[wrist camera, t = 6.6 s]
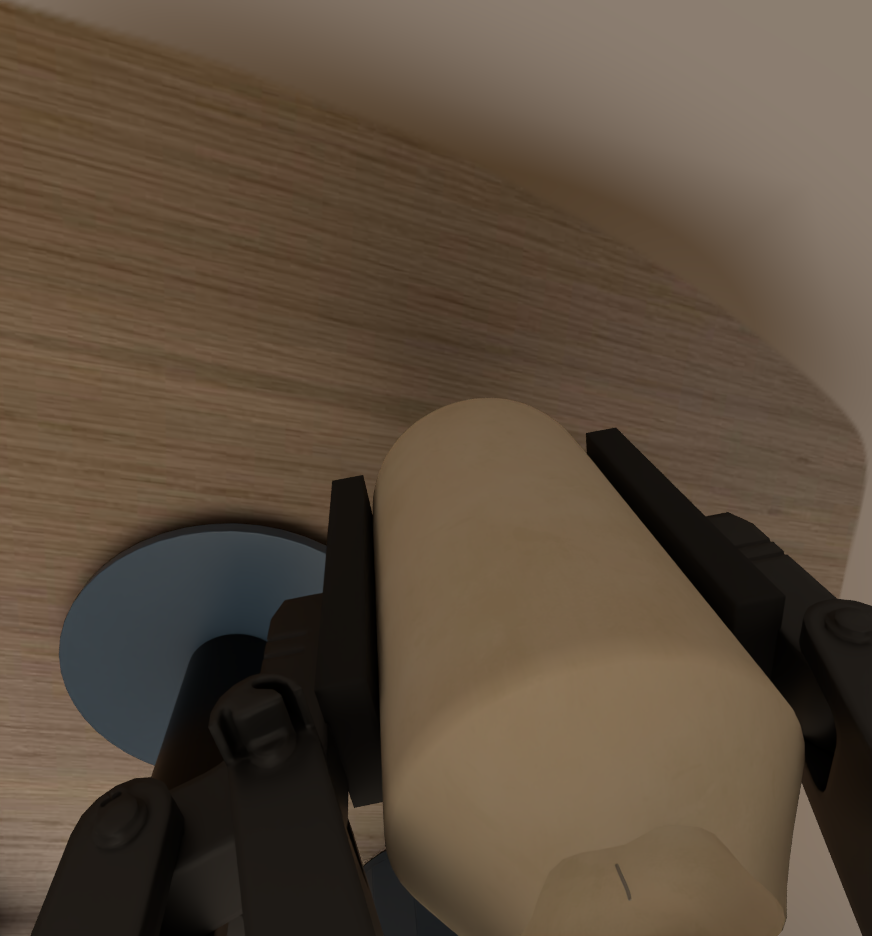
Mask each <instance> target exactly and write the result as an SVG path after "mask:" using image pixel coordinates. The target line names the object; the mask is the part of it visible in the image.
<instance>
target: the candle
mask: <svg viewBox="0 0 872 936" xmlns="http://www.w3.org/2000/svg"><path fill="white" fill-rule="evenodd" d="M373 544H374V572H375V599H376V627H377V654H378V682H379V709H380V736H381V764H382V790H383V816H384V836H385V845H386V852H387V855H388V858H389V861H390V864H391V867H392V869H393V871H394V873H395V874H396V876H397V878H398V879H399V881H400V883H401V884H402V885H403V886H404V887H405V888H406V889H407V890H408V892H409V893H410V894H411V895H412V896H413V897H414V898H415V899H416V900H417V901H419V902H420V903H421V904H422V905H423V906H424V907H425V908H426V909H428V910H429V911H430V912H431V913H432V914H433V915H435V916H436V917H437V918H438V919H439V920H440V921H442V922H443V923H444V924H445V925H446V926H447V927H449V928H450V929H451V930H452V931H453V932H455V933H456V934H457V935H458V936H778V935H779V934H780V933H781V931H782V930H783V927H784V924H785V922H786V918H787V881H788V870H789V860H790V852H791V845H792V836H793V830H794V823H795V817H796V811H797V806H798V799H799V794H800V788H801V782H802V776H803V770H804V764H805V742H804V738H803V733H802V729H801V725H800V723H799V721H798V719H797V717H796V715H795V713H794V710H793V709H792V708H791V706H790V705H789V704H788V702H787V701H786V700H785V698H784V697H783V696H782V695H781V693H780V692H779V691H778V690H777V688H776V687H775V686H774V685H773V683H772V682H771V681H770V680H769V678H768V677H767V676H766V675H765V673H764V672H763V671H762V670H761V668H760V667H759V666H758V665H757V663H756V662H755V661H754V660H753V658H752V657H751V656H750V655H749V654H748V652H747V651H746V650H745V649H744V647H743V646H742V645H741V644H740V642H739V641H738V640H737V639H736V637H735V636H734V635H733V634H732V633H731V631H730V630H729V629H728V628H727V626H726V625H725V624H724V623H723V621H722V620H721V619H720V618H719V616H718V615H717V614H716V613H715V612H714V610H713V609H712V608H711V607H710V605H709V604H708V603H707V602H706V600H705V599H704V598H703V597H702V596H701V594H700V593H699V592H698V591H697V589H696V588H695V587H694V586H693V584H692V583H691V582H690V581H689V579H688V578H687V577H686V576H685V575H684V573H683V572H682V571H681V570H680V568H679V567H678V566H677V565H676V563H675V562H674V561H673V560H672V558H671V557H670V556H669V555H668V554H667V552H666V551H665V550H664V549H663V547H662V546H661V545H660V544H659V542H658V541H657V540H656V539H655V538H654V536H653V535H652V534H651V533H650V531H649V530H648V529H647V528H646V526H645V525H644V524H643V523H642V521H641V520H640V519H639V518H638V517H637V515H636V514H635V513H634V512H633V510H632V509H631V508H630V507H629V505H628V504H627V503H626V502H625V501H624V499H623V498H622V497H621V496H620V494H619V493H618V492H617V491H616V489H615V488H614V487H613V486H612V484H611V483H610V482H609V481H608V480H607V478H606V477H605V476H604V475H603V473H602V472H601V471H600V470H599V468H598V467H597V466H596V465H595V464H594V462H593V461H592V460H591V459H590V457H589V456H588V455H587V454H586V452H585V451H584V450H583V449H582V447H581V446H580V445H579V444H578V443H577V442H576V440H575V439H574V438H573V437H572V436H571V435H570V434H569V432H568V431H567V430H566V429H564V428H563V427H562V426H561V425H560V424H559V423H558V422H557V421H555V420H554V419H552V418H551V417H549V416H548V415H547V414H545V413H543V412H542V411H540V410H538V409H536V408H534V407H531V406H529V405H526V404H523V403H520V402H517V401H513V400H508V399H502V398H476V399H469V400H464V401H459V402H456V403H453V404H450V405H447V406H444V407H442V408H439V409H437V410H435V411H433V412H431V413H429V414H428V415H426V416H425V417H423V418H421V419H420V420H418V421H417V422H416V423H415V424H413V425H412V426H411V427H410V428H408V429H407V430H406V431H405V432H404V433H403V434H402V435H401V436H400V438H399V439H398V440H397V441H396V442H395V444H394V445H393V446H392V448H391V449H390V451H389V452H388V454H387V456H386V458H385V460H384V462H383V464H382V466H381V469H380V472H379V474H378V477H377V480H376V485H375V490H374V496H373Z"/></svg>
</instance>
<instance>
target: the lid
mask: <svg viewBox="0 0 872 936" xmlns="http://www.w3.org/2000/svg"><path fill="white" fill-rule="evenodd" d="M326 548H327V546H326V545H323V544H321V543H319V542H316V541H314V540H312V539H309V538H307V537H305V536H301V535H298V534H295V533H292V532H288V531H285V530H281V529H276V528H271V527H265V526H260V525H249V524H236V523H231V524H207V525H200V526H193V527H186V528H182V529H178V530H174V531H170V532H166V533H163V534H160V535H157V536H155V537H152V538H150V539H147V540H144V541H142V542H140V543H138V544H136V545H134V546H132V547H130V548H129V549H127V550H125V551H123V552H121V553H120V554H118V555H117V556H116V557H114V558H113V559H112V560H110V561H109V562H108V563H106V564H105V565H104V566H103V567H102V568H101V569H100V570H99V571H98V572H97V573H96V574H95V575H94V576H93V577H92V578H91V579H89V581H88V582H87V584H86V585H85V586H84V588H83V589H82V591H81V592H80V593H79V595H78V596H77V598H76V599H75V601H74V602H73V604H72V606H71V608H70V610H69V612H68V614H67V617H66V619H65V621H64V625H63V629H62V632H61V636H60V647H59V659H60V668H61V674H62V677H63V680H64V683H65V687H66V689H67V691H68V693H69V695H70V697H71V699H72V701H73V703H74V705H75V706H76V708H77V709H78V710H79V712H80V713H81V715H82V716H83V717H84V719H85V720H86V721H87V722H88V723H89V724H90V725H91V726H92V727H93V728H94V729H95V730H96V731H97V732H98V733H99V734H101V735H102V736H103V737H104V738H106V739H107V740H108V741H109V742H110V743H112V744H113V745H115V746H117V747H118V748H120V749H121V750H123V751H124V752H126V753H128V754H130V755H132V756H134V757H136V758H138V759H140V760H142V761H144V762H146V763H149V764H152V765H154V766H155V767H154V770H153V773H152V776H151V777H153V778H155V779H157V780H160V781H162V782H164V783H165V784H166V786H167V788H168V790H171V789H173V788H175V787H177V786H179V785H181V784H183V783H185V782H187V781H189V780H191V779H193V778H196V777H198V776H200V775H202V774H204V773H206V772H207V771H209V770H211V769H212V768H214V767H216V766H217V765H219V764H220V763H221V762H222V761H224V759H223V757H222V755H221V753H220V751H219V749H218V747H217V745H216V743H215V740H214V738H213V736H212V734H211V732H210V730H209V728H208V725H209V720H210V714H211V711H212V710H213V708H214V706H215V705H216V703H217V701H218V700H219V698H220V697H221V696H222V695H223V694H224V693H225V692H227V691H228V690H229V689H230V688H231V687H232V686H233V685H235V684H236V683H238V682H240V681H242V680H244V679H246V678H247V677H249V676H252V675H256V674H260V672H261V667H262V662H263V660H264V652H265V647H266V643H267V636H268V631H269V626H270V621H271V618H272V617H273V616H274V614H275V613H276V611H277V610H278V609H279V607H280V606H281V604H282V603H283V602H284V600H287V599H293V598H298V597H303V596H308V595H313V594H318V593H323V583H324V571H325V560H326ZM227 936H245V930H244V921H243V914H241V915H240V916H238V917H236V918H235V919H233V920H231V921H229V925H228V932H227Z"/></svg>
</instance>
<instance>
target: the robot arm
mask: <svg viewBox="0 0 872 936" xmlns="http://www.w3.org/2000/svg"><path fill="white" fill-rule="evenodd" d="M586 447H587V455H588V456H589V457H590V459H591V460H592V461H593V462H594V464H595V465H596V466H597V467H598V468H599V470H600V471H601V472H602V473H603V475H604V476H605V477H606V478H607V480H608V481H609V482H610V483H611V484H612V486H613V487H614V488H615V489H616V491H617V492H618V493H619V494H620V496H621V497H622V498H623V499H624V501H625V502H626V503H627V504H628V505H629V507H630V508H631V509H632V510H633V512H634V513H635V514H636V515H637V517H638V518H639V519H640V520H641V521H642V523H643V524H644V525H645V526H646V528H647V529H648V530H649V531H650V533H651V534H652V535H653V536H654V538H655V539H656V540H657V541H658V542H659V544H660V545H661V546H662V547H663V549H664V550H665V551H666V552H667V554H668V555H669V556H670V557H671V558H672V560H673V561H674V562H675V563H676V565H677V566H678V567H679V568H680V570H681V571H682V572H683V573H684V575H685V576H686V577H687V578H688V579H689V581H690V582H691V583H692V584H693V586H694V587H695V588H696V589H697V591H698V592H699V593H700V594H701V596H702V597H703V598H704V599H705V600H706V602H707V603H708V604H709V605H710V607H711V608H712V609H713V610H714V612H715V613H716V614H717V615H718V616H719V618H720V619H721V620H722V621H723V623H724V624H725V625H726V626H727V628H728V629H729V630H730V631H731V633H732V634H733V635H734V636H735V637H736V639H737V640H738V641H739V642H740V644H741V645H742V646H743V647H744V649H745V650H746V651H747V652H748V654H749V655H750V656H751V657H752V658H753V660H754V661H755V662H756V663H757V665H758V666H759V667H760V668H761V670H762V671H763V672H764V673H765V675H766V676H767V677H768V678H769V680H770V681H771V682H772V683H773V685H774V686H775V687H776V688H777V690H778V691H779V692H780V693H781V695H782V696H783V697H784V698H785V700H786V701H787V702H788V704H789V705H790V706H791V708H792V709H793V710H794V713H795V715H796V717H797V719H798V721H799V723H800V725H801V729H802V733H803V738H804V742H805V764H804V770H803V776H802V784H803V787H804V789H805V792H806V795H807V797H808V800H809V802H810V804H811V807H812V809H813V812H814V815H815V817H816V820H817V822H818V825H819V827H820V830H821V832H822V835H823V837H824V840H825V843H826V845H827V848H828V850H829V852H830V855H831V858H832V860H833V863H834V865H835V868H836V870H837V873H838V875H839V878H840V880H841V883H842V885H843V888H844V890H845V893H846V895H847V898H848V900H849V903H850V905H851V908H852V911H853V913H854V916H855V918H856V921H857V923H858V926H859V928H860V931H861V933H862V936H872V606H870V605H867V604H864V603H861V602H857V601H851V600H842V599H837V598H836V597H835V596H833V595H832V594H831V593H830V592H829V591H828V590H827V589H826V588H824V587H823V586H822V585H821V584H820V583H819V582H818V581H817V580H815V579H814V578H813V577H812V576H811V575H810V574H809V573H808V572H806V571H805V570H804V569H803V568H802V567H801V566H800V565H799V564H797V563H796V562H795V561H794V560H793V559H792V558H791V557H790V556H788V555H785V554H784V551H783V550H782V549H781V548H780V547H778V546H777V545H776V544H775V543H774V542H770V539H769V538H768V537H767V536H766V535H765V534H764V533H763V532H762V531H760V530H759V529H758V528H757V527H756V526H755V525H754V524H753V523H750V522H748V521H746V520H744V519H742V518H740V517H737V516H735V515H733V514H731V513H729V512H726V513H721V514H716V515H711V516H704V515H703V514H702V513H701V512H700V511H699V510H698V509H697V508H696V507H695V506H694V505H693V504H692V503H691V502H690V501H689V500H688V499H687V498H686V497H685V496H684V495H683V494H682V493H681V492H680V491H679V490H678V489H677V488H676V487H675V486H674V485H673V484H672V483H671V482H670V481H669V480H668V479H667V478H666V477H665V476H664V475H663V474H662V473H661V472H660V471H659V470H658V469H657V468H656V467H655V466H654V465H653V464H652V463H651V462H650V461H649V460H648V459H647V458H646V457H645V456H644V455H643V454H642V453H641V452H640V451H639V450H638V449H637V448H636V447H635V446H634V445H633V444H632V443H631V442H630V441H629V440H628V439H627V438H626V437H625V436H624V435H623V434H622V433H621V432H620V431H619V430H618V429H617V428H611V429H606V430H600V431H595V432H590V433H586ZM208 728H209V730H210V732H211V734H212V736H213V738H214V740H215V743H216V745H217V747H218V749H219V751H220V753H221V755H222V757H223V759H224V761H222V762H221V763H220V764H219V765H217V766H216V767H214V768H212V769H211V770H209V771H207V772H206V773H204V774H202V775H200V776H198V777H196V778H193V779H191V780H189V781H187V782H185V783H183V784H181V785H179V786H177V787H175V788H173V789H171V790H168V788H167V786H166V784H165V783H164V782H162V781H160V780H157V779H155V778H153V777H148V778H135V779H132V780H130V781H127V782H124V783H122V784H119V785H117V786H115V787H114V788H112V789H111V790H109V791H108V792H106V793H105V794H104V795H102V796H101V797H99V798H98V799H97V800H96V801H95V802H94V803H93V804H92V805H91V806H90V807H89V808H88V809H87V810H86V811H85V813H84V814H83V815H82V816H81V818H80V819H79V821H78V823H77V825H76V826H75V828H74V830H73V831H72V833H71V835H70V838H69V840H68V843H67V845H66V848H65V850H64V853H63V855H62V858H61V860H60V863H59V865H58V868H57V870H56V873H55V876H54V878H53V881H52V883H51V886H50V888H49V891H48V893H47V896H46V898H45V901H44V903H43V906H42V908H41V911H40V913H39V916H38V918H37V921H36V923H35V926H34V928H33V931H32V933H31V936H227V932H228V925H229V921H231V920H233V919H235V918H236V917H238V916H240V915H241V914H243V921H244V930H245V936H384V934H383V931H382V928H381V924H380V921H379V918H378V914H377V911H376V908H375V904H374V901H373V898H372V894H371V891H370V887H369V884H368V881H367V877H366V874H365V871H364V867H363V864H362V861H361V857H360V854H359V851H358V847H357V844H356V841H355V837H354V834H353V831H352V828H351V825H350V822H349V820H348V791H349V794H350V797H351V800H352V803H353V806H354V808H356V807H360V806H365V805H370V804H375V803H380V802H383V790H382V764H381V736H380V709H379V682H378V654H377V627H376V599H375V572H374V544H373V515H372V510H371V506H370V502H369V498H368V493H367V489H366V485H365V481H364V476H363V475H361V476H355V477H350V478H345V479H339V480H334V481H332V491H331V502H330V514H329V525H328V537H327V548H326V560H325V571H324V583H323V593H318V594H313V595H308V596H303V597H298V598H293V599H287V600H284V602H283V603H282V604H281V606H280V607H279V609H278V610H277V611H276V613H275V614H274V616H273V617H272V618H271V621H270V626H269V631H268V636H267V643H266V647H265V652H264V660H263V662H262V667H261V672H260V674H256V675H252V676H249V677H247V678H246V679H244V680H242V681H240V682H238V683H236V684H235V685H233V686H232V687H231V688H230V689H229V690H228V691H227V692H225V693H224V694H223V695H222V696H221V697H220V698H219V700H218V701H217V703H216V705H215V706H214V708H213V710H212V711H211V714H210V720H209V725H208Z"/></svg>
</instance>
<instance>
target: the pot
mask: <svg viewBox="0 0 872 936" xmlns="http://www.w3.org/2000/svg"><path fill="white" fill-rule="evenodd" d="M364 871H365V874H366V877H367V881H368V884H369V887H370V891H371V894H372V898H373V901H374V904H375V908H376V911H377V914H378V918H379V921H380V924H381V928H382V931H383V934H384V936H458V935H457V934H456V933H455V932H453V931H452V930H451V929H450V928H449V927H447V926H446V925H445V924H444V923H443V922H442V921H440V920H439V919H438V918H437V917H436V916H435V915H433V914H432V913H431V912H430V911H429V910H428V909H426V908H425V907H424V906H423V905H422V904H421V903H420V902H419V901H417V900H416V899H415V898H414V897H413V896H412V895H411V894H410V893H409V892H408V890H407V889H406V888H405V887H404V886H403V885H402V884H401V883H400V881H399V879H398V878H397V876H396V874H395V873H394V871H393V869H392V867H391V864H390V861H389V858H388V855H387V852H386V851H385V852H383V853H381V854H379V855H378V856H376V857H375V858H374V859H372V860H371V861H369V862H368V863H367V864H366V865H365V866H364Z"/></svg>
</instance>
